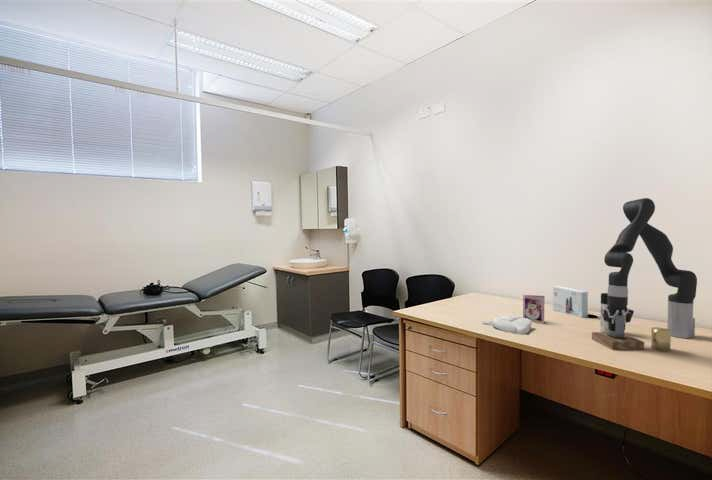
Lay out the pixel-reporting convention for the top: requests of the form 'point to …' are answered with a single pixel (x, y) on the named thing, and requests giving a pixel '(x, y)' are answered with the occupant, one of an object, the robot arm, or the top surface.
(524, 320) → the lung model
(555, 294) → the skincare box
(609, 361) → the top surface
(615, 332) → the square bit
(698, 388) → the top surface
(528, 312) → the greeting card
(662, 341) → the cylinder
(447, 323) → the top surface
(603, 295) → the spray can
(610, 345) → the bore block
